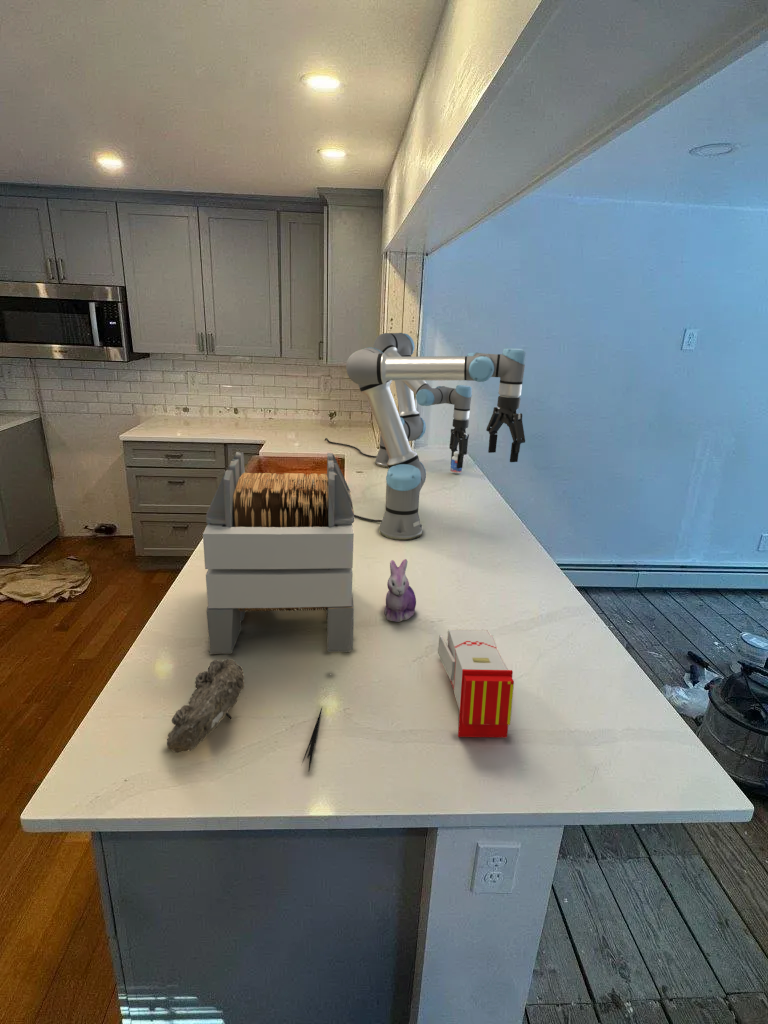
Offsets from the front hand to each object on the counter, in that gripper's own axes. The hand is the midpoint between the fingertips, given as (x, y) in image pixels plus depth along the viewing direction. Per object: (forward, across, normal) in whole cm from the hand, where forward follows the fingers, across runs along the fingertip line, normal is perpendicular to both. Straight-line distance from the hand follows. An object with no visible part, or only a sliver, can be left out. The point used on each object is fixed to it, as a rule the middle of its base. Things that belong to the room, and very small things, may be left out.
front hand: (502, 457), depth 199 cm
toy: (+27, -80, +57) cm, 102 cm away
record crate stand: (+27, -38, +86) cm, 98 cm away
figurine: (+27, -46, +58) cm, 79 cm away
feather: (+27, -77, +89) cm, 121 cm away
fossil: (+27, -70, +108) cm, 131 cm away
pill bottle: (+26, +70, -23) cm, 78 cm away
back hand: (+23, +70, -23) cm, 77 cm away
